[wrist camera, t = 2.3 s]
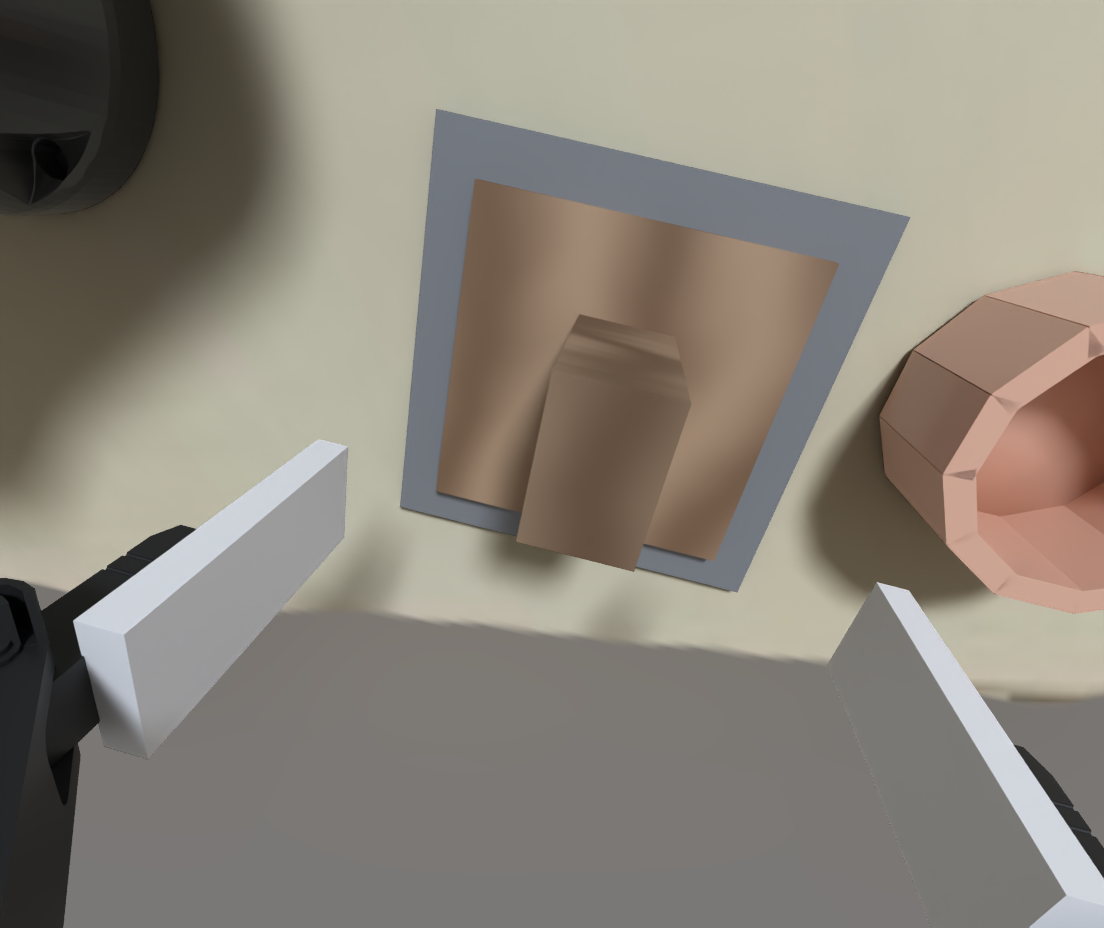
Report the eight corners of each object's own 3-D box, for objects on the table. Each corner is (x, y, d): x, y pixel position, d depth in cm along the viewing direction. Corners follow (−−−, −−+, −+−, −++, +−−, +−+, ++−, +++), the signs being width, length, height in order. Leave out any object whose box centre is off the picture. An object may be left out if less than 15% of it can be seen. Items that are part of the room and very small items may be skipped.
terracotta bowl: (835, 490, 26) (886, 567, 21) (960, 245, 21) (1069, 263, 16) (1070, 547, 26) (1183, 640, 20) (1253, 312, 21) (1465, 353, 15)
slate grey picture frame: (404, 501, 30) (400, 506, 29) (441, 111, 22) (436, 109, 21) (735, 584, 29) (737, 592, 29) (903, 216, 21) (910, 216, 20)
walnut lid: (441, 483, 28) (365, 596, 20) (479, 179, 22) (391, 173, 14) (711, 551, 28) (740, 693, 20) (832, 261, 21) (945, 302, 14)
